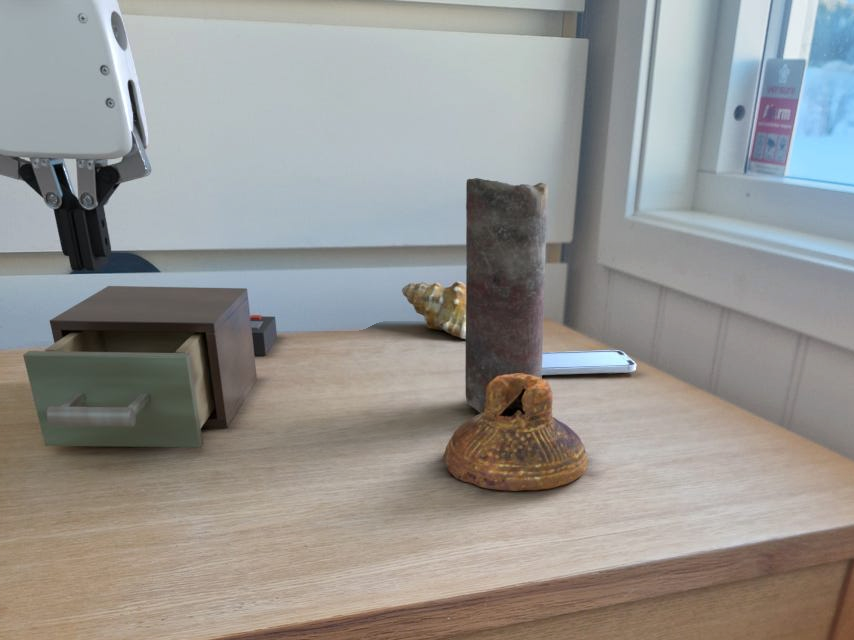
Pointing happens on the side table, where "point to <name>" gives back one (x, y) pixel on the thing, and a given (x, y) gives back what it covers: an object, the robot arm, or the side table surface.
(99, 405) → the drawer
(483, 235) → the candle
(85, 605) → the side table surface
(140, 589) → the side table surface
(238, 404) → the cabinet
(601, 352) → the smartphone
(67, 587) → the side table surface
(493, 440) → the bell
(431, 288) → the seashell
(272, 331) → the remote
